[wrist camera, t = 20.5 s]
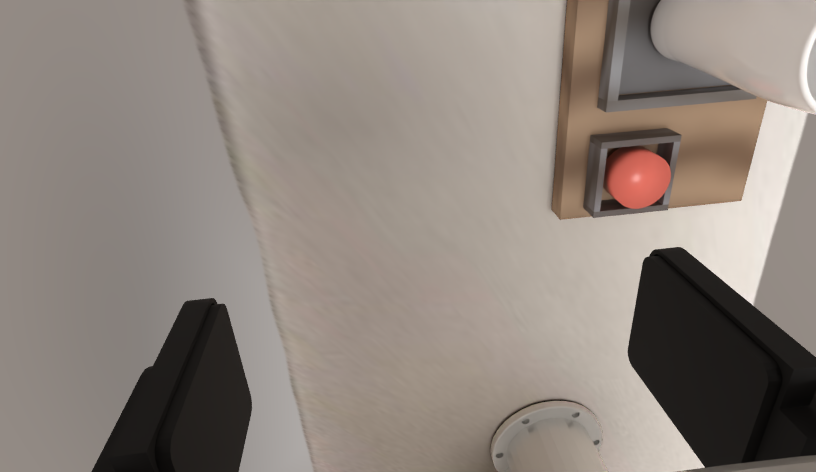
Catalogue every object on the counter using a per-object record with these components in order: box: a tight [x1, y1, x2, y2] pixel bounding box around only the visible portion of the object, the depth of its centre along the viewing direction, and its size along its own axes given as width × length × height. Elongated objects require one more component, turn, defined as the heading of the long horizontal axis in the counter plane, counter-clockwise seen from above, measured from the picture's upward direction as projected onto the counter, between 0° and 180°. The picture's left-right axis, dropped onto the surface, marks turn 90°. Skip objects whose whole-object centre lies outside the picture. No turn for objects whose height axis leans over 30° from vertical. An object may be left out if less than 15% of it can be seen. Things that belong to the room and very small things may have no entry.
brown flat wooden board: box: [552, 0, 767, 220], centre depth 39 cm, size 22×16×4 cm
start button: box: [603, 145, 671, 209], centre depth 40 cm, size 4×4×2 cm
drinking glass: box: [650, 0, 816, 114], centre depth 30 cm, size 7×7×15 cm
